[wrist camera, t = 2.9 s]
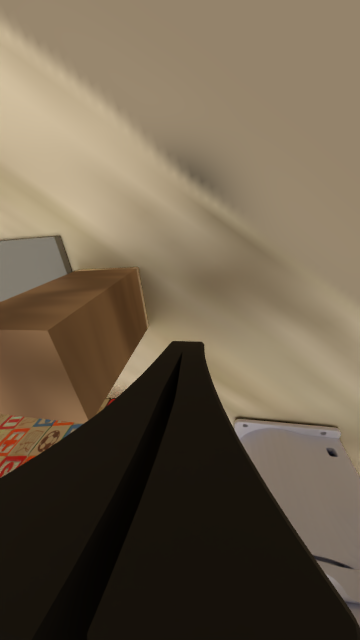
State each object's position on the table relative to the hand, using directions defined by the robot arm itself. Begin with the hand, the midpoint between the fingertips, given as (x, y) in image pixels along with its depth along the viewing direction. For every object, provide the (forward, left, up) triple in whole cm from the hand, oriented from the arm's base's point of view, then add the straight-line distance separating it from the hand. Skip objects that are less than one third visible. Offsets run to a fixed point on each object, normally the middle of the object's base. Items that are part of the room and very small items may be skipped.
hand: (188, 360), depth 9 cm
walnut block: (+7, 0, -7) cm, 10 cm away
